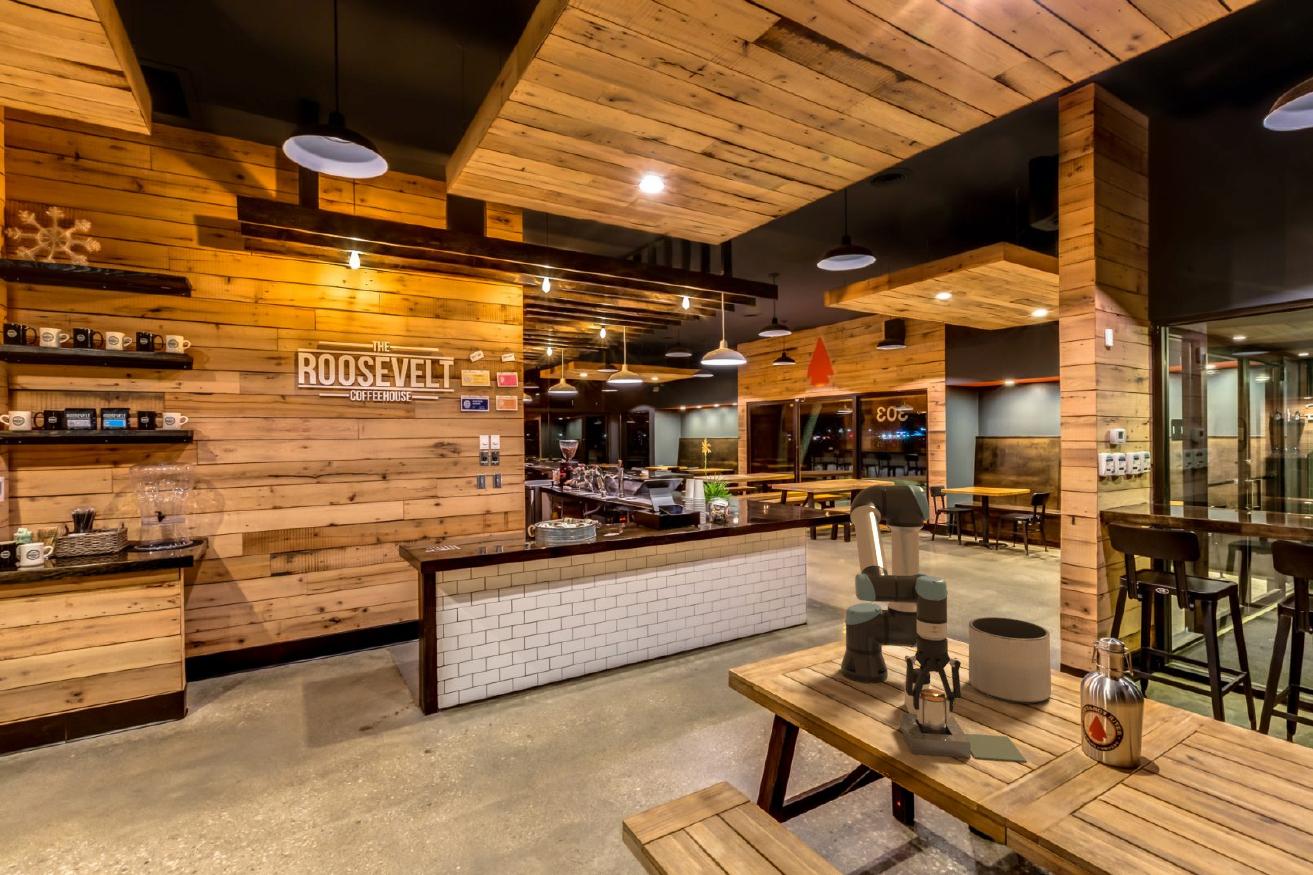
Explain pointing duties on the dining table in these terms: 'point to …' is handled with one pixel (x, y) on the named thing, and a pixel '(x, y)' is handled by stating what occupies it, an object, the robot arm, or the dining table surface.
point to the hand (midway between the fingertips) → (933, 721)
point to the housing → (935, 739)
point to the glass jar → (933, 712)
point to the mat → (994, 748)
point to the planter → (1009, 659)
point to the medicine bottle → (910, 698)
